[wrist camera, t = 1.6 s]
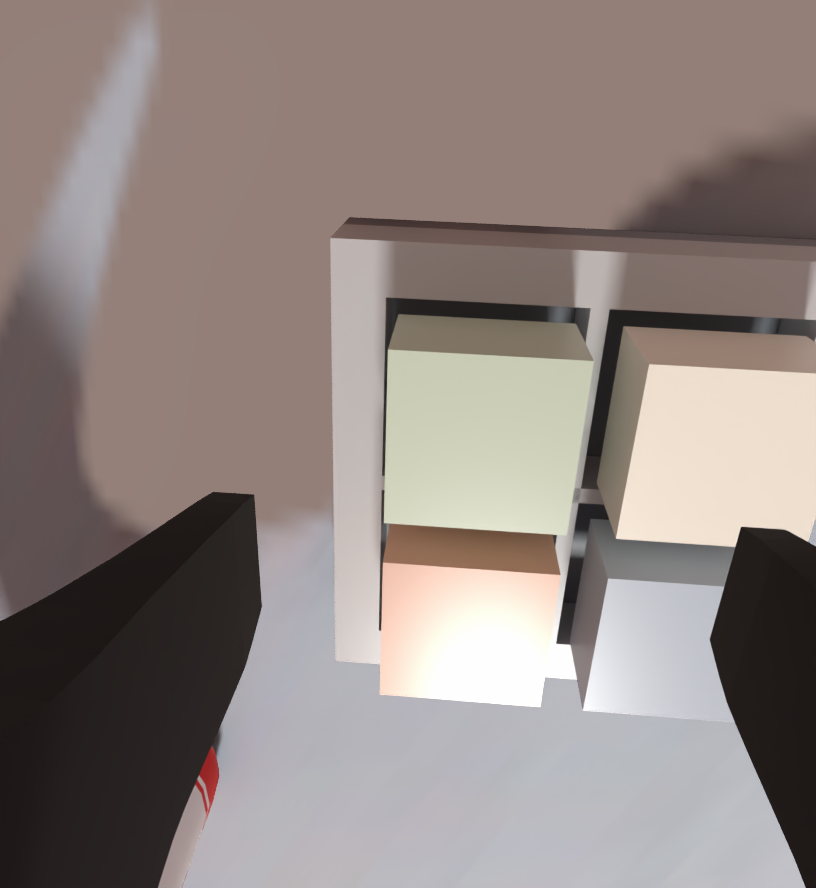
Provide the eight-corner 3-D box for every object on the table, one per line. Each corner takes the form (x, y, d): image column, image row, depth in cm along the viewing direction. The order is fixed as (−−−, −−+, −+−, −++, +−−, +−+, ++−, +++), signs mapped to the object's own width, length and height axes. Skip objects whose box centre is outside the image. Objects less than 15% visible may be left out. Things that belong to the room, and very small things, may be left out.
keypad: (835, 240, 17) (898, 265, 15) (724, 625, 22) (757, 693, 20) (349, 217, 18) (330, 238, 15) (349, 598, 23) (335, 660, 20)
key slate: (751, 529, 17) (791, 591, 15) (715, 651, 19) (747, 723, 17) (590, 518, 17) (607, 578, 15) (569, 641, 19) (583, 710, 17)
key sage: (576, 323, 15) (594, 361, 13) (554, 479, 17) (566, 535, 15) (398, 313, 16) (387, 349, 13) (393, 469, 17) (384, 522, 15)
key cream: (806, 335, 15) (862, 375, 13) (761, 493, 17) (804, 551, 15) (623, 326, 15) (649, 364, 13) (596, 482, 17) (615, 538, 15)
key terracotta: (549, 516, 18) (560, 574, 15) (531, 638, 19) (539, 707, 17) (392, 505, 18) (382, 562, 16) (389, 627, 19) (379, 694, 17)
